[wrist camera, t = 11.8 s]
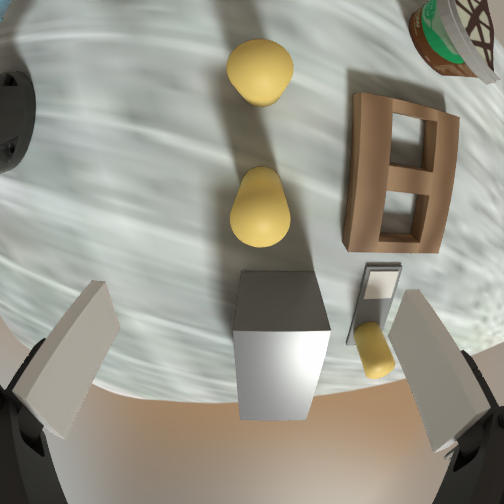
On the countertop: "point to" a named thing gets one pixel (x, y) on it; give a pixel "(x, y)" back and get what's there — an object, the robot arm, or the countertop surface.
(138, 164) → the countertop surface
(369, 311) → the grey and yellow fixture
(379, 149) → the socket board
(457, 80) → the countertop surface
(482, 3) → the food container
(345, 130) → the countertop surface
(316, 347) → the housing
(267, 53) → the peg
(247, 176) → the peg
